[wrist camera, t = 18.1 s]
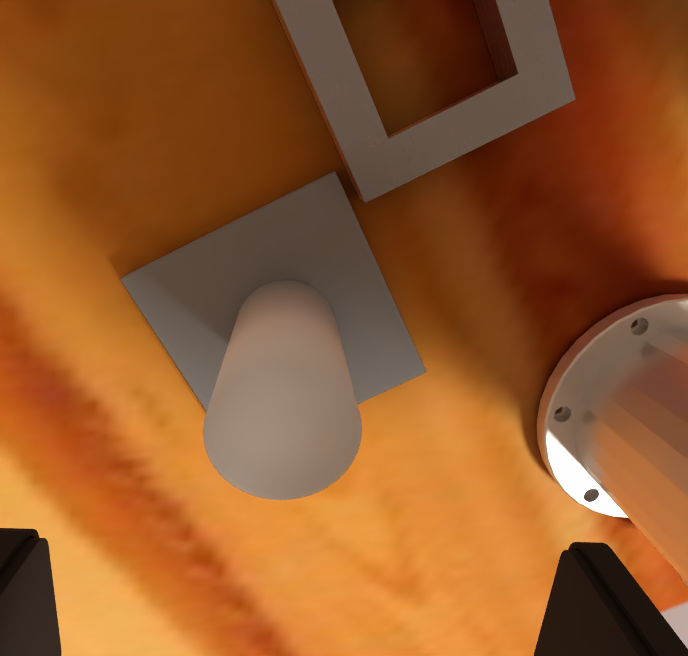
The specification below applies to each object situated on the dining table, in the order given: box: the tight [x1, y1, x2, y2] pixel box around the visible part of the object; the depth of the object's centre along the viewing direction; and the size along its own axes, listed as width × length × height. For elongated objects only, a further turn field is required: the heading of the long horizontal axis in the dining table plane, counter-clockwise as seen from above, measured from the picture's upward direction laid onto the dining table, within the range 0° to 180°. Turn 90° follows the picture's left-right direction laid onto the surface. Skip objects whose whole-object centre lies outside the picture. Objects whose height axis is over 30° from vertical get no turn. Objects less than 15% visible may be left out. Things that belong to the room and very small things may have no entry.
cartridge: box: [203, 280, 362, 500], centre depth 19 cm, size 4×4×9 cm
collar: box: [271, 0, 576, 203], centre depth 19 cm, size 9×9×2 cm
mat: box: [120, 171, 426, 411], centre depth 23 cm, size 10×10×1 cm
